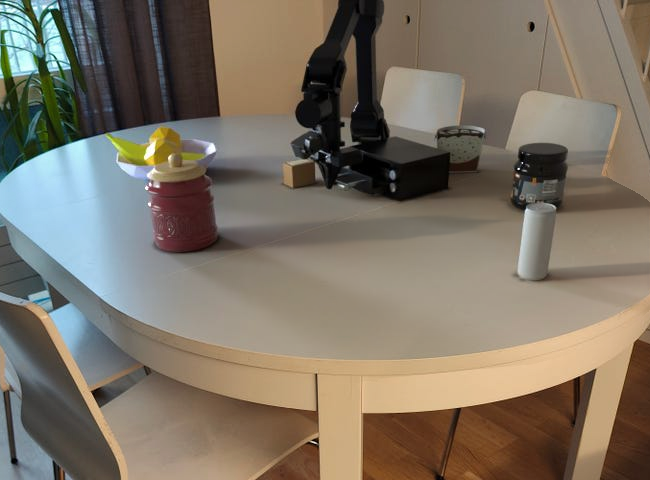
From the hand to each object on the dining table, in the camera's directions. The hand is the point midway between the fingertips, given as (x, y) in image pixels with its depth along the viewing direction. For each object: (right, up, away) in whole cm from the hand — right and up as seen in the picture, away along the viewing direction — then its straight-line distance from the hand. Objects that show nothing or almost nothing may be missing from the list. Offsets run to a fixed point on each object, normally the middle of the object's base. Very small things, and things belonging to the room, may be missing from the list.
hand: (329, 188), depth 155 cm
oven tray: (+9, +2, +5) cm, 10 cm away
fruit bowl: (-42, +11, +27) cm, 51 cm away
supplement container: (+43, -6, -10) cm, 45 cm away
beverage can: (+32, -25, -39) cm, 56 cm away
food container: (+33, +9, +16) cm, 37 cm away
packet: (-6, +5, +13) cm, 15 cm away
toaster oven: (+17, +3, +8) cm, 18 cm away
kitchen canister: (-30, -15, -16) cm, 37 cm away
